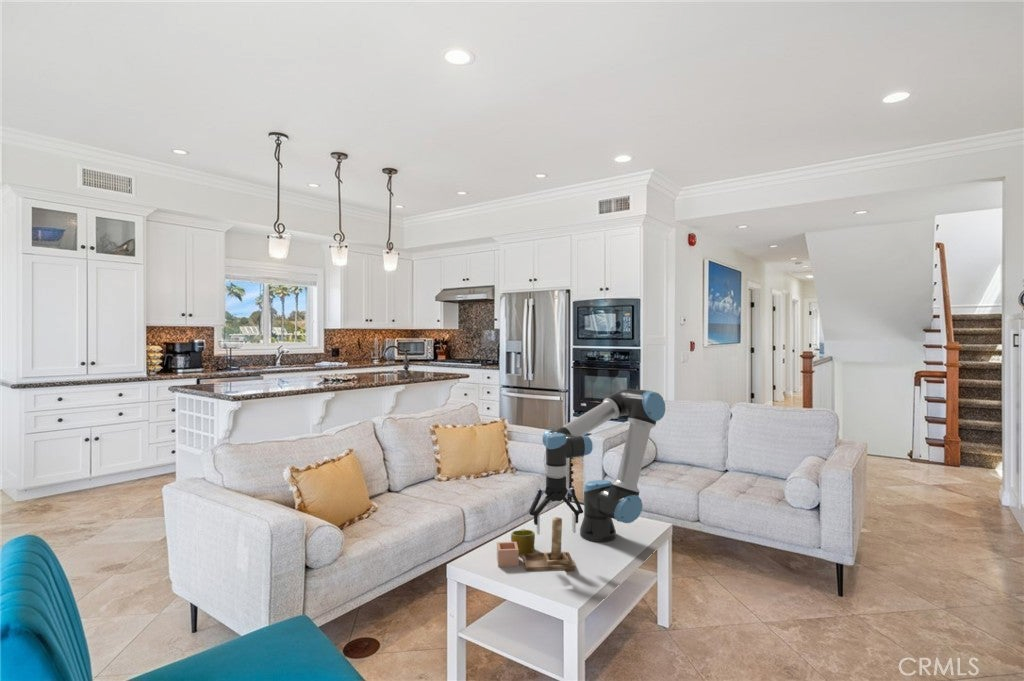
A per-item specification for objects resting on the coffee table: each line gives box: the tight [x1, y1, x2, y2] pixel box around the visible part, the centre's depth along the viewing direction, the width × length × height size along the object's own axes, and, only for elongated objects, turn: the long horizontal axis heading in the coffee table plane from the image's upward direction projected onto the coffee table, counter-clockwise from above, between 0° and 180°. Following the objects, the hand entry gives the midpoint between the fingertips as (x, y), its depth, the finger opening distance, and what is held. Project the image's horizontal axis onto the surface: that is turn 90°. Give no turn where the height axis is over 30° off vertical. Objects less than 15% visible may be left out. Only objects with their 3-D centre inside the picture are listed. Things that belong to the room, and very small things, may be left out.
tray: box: [521, 551, 576, 573], centre depth 200 cm, size 18×12×3 cm, turn 96°
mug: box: [510, 528, 536, 556], centre depth 213 cm, size 12×10×10 cm
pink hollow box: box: [496, 541, 520, 568], centre depth 201 cm, size 8×8×7 cm
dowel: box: [550, 516, 563, 560], centre depth 201 cm, size 4×4×16 cm
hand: (556, 532), depth 201 cm, fingers open, 13 cm apart
